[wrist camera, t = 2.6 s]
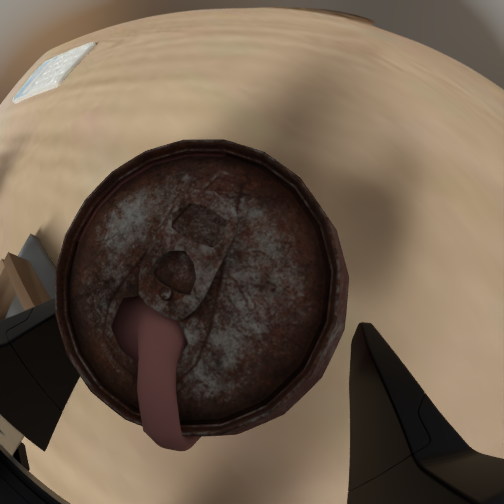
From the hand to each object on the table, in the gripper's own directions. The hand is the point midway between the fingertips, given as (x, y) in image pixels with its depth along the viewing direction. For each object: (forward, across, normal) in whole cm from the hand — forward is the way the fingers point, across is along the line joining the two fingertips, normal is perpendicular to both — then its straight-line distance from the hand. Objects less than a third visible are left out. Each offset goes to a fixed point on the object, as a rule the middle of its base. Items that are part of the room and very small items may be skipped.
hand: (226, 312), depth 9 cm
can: (+6, 0, +6) cm, 9 cm away
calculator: (+32, +49, -19) cm, 62 cm away
